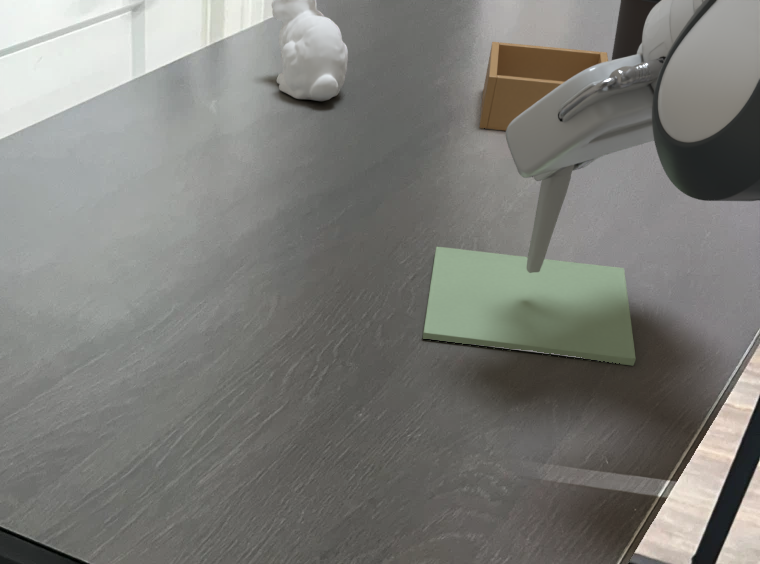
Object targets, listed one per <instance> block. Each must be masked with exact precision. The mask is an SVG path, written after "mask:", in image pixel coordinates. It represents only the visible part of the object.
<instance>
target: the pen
mask: <svg viewBox="0 0 760 564" xmlns="http://www.w3.org/2000/svg"><path fill="white" fill-rule="evenodd" d="M573 168H574V164H573V165H570V166H567V167H566V168H564V169H563V170H561V171H560V172H558V173H557V174H556V175H554V176H553V177H551V178H548V179H545V180H541V181H540V182H541V183H540V186H539V192H538V198H537V203H536V209H535V216H534V221H533V226H532V227H533V228H532V233H531V238H530V243H529V247H528V251H527V252H528V253H527V257H528V258H527V271H528V272H529V273H533V272H539V271H540V269H541V267H542V264H543V261H544V259H546V255H547V252H548V249H549V245H550V242H551V239H552V236H553V234H554V231H555V227H556V224H557V221H558V218H559V215H560V213H561V211H562V208H563V205H564V201H565V198H566V195H567V192H568V190H569V186H570V182H571V178H572V174H573Z"/></svg>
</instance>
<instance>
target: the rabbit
mask: <svg viewBox="0 0 760 564" xmlns="http://www.w3.org/2000/svg"><path fill="white" fill-rule="evenodd" d="M317 6H318V5H317V0H272V2H271V9H272V12H271V14H272V17H273V18H274V20H275V21H279V22H281V23H282V25H281V28H280V30H279V34H278V46H279V48H280V57H281V62H282V69H283V71H282V72H281V73H279V74H278V76H277V77H276V83H277V84H278V90H280V92H283V93H285V94H287V95H289V96H291V97H292V98H294V99H297V100H309V101H310V100H311V101H315V102H325V101H329V100H330V99H332V98H334V97H337V96H338V95H339V93H340V91H341V89H342V87H343V86H344V84H345V82H346V75H347V71H348V62H349V59H348V58H349V57H348V56H349V51H348V46H347V45H346V43H345V42H344V41H343V37H342V32H341V29H340V27H339V26H338V25H337V24H336V22H335V21H333V20H332V19H331V18H329V17H327V16H325V15H324V14H323V13H322V12H321V11H320V10H319V9H318V7H317Z"/></svg>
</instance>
